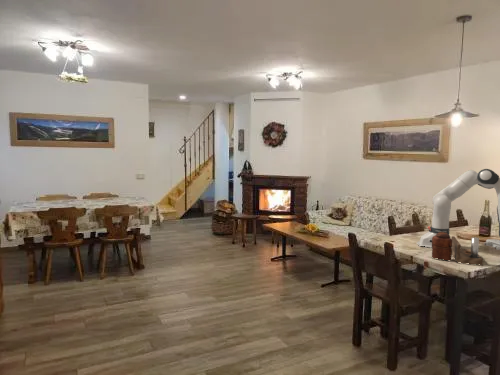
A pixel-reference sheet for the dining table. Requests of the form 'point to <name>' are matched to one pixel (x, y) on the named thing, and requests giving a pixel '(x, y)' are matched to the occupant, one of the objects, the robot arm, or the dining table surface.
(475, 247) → the peg
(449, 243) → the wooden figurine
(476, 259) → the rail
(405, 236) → the dining table surface
